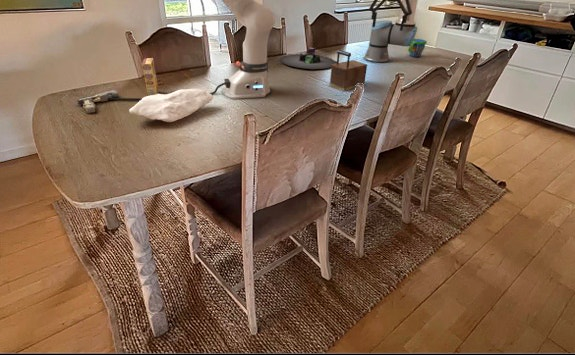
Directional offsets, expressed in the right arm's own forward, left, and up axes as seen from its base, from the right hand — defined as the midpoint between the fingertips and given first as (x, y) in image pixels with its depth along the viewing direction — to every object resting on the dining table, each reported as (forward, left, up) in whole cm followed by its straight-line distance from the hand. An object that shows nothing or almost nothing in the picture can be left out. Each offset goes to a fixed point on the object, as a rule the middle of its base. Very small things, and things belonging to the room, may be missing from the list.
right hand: (387, 28), depth 177 cm
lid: (+11, -13, -18) cm, 25 cm away
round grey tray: (-18, -48, -28) cm, 58 cm away
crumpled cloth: (+85, -64, -28) cm, 110 cm away
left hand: (+19, -31, +20) cm, 41 cm away
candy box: (+73, -86, -28) cm, 116 cm away
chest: (+11, -13, -28) cm, 33 cm away
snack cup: (-73, +7, -28) cm, 79 cm away
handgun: (+92, -97, -28) cm, 137 cm away
